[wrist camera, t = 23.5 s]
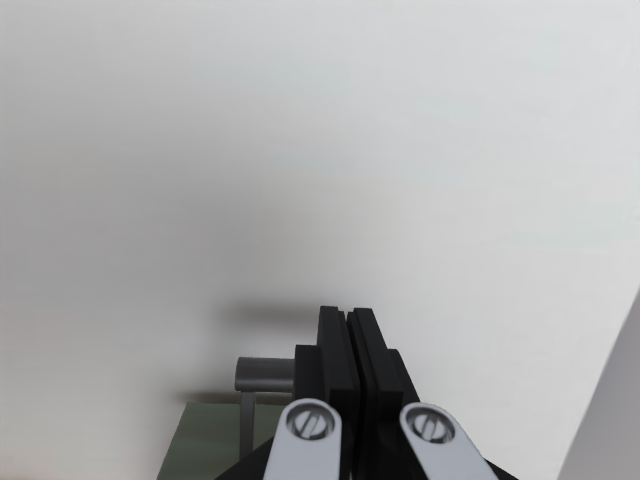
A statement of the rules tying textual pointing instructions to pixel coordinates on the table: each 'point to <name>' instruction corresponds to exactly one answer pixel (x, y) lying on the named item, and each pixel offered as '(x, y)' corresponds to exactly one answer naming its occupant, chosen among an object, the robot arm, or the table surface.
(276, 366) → the drawer
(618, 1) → the table surface
